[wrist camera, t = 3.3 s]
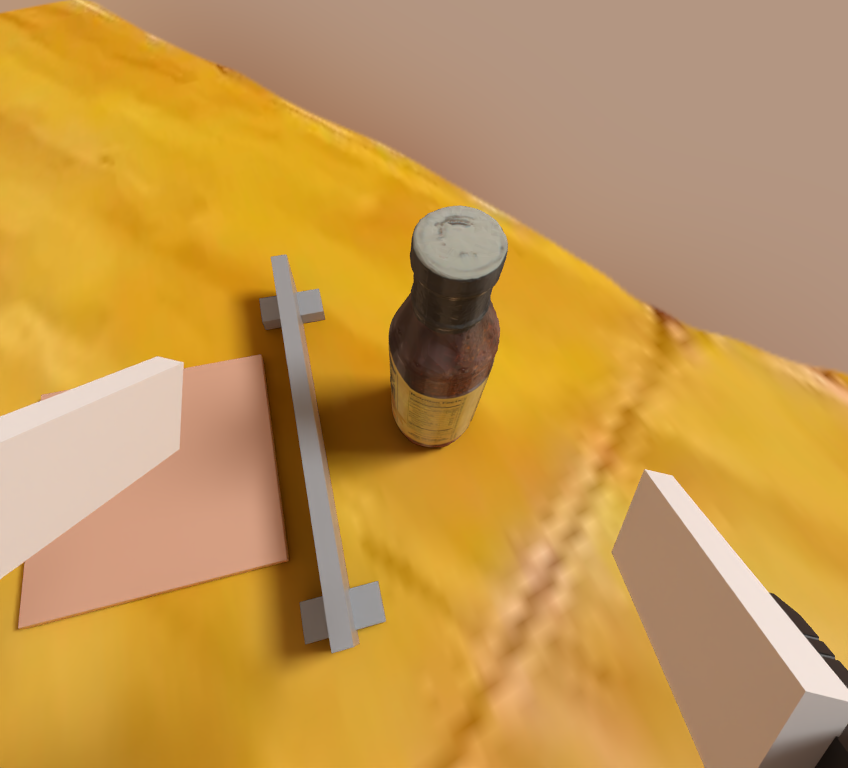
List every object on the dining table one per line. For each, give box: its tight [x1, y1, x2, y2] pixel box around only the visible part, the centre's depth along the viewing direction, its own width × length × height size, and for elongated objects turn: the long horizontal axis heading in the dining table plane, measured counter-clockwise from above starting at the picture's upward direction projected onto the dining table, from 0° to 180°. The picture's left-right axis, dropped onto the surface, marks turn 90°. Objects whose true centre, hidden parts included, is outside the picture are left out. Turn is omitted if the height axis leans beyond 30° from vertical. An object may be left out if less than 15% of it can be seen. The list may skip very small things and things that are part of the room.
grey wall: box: [259, 255, 386, 653], centre depth 34 cm, size 5×28×5 cm, turn 15°
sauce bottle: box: [389, 206, 508, 447], centre depth 29 cm, size 7×6×20 cm
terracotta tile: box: [18, 354, 289, 628], centre depth 34 cm, size 16×16×1 cm
